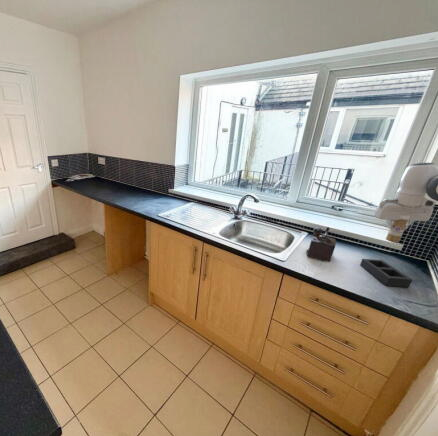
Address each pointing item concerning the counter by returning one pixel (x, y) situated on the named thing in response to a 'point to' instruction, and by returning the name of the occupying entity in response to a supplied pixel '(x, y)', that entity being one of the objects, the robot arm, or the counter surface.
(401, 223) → the sprinkles bottle
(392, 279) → the holder
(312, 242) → the brown coffee grinder
